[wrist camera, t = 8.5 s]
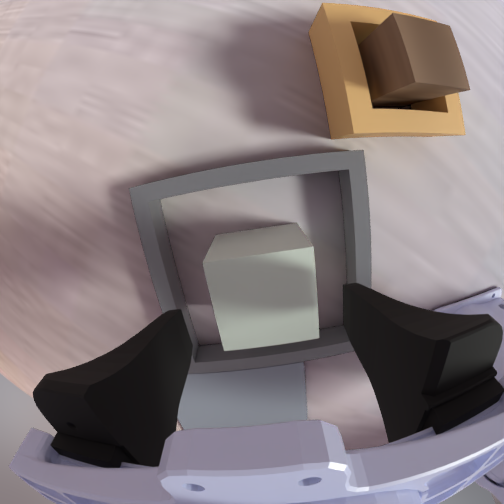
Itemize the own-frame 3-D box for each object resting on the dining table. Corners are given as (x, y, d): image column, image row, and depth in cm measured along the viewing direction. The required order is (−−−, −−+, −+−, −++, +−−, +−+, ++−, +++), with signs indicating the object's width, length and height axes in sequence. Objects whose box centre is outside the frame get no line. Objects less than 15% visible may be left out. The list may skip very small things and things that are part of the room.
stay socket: (407, 39, 13) (436, 21, 9) (429, 136, 15) (465, 135, 11) (308, 32, 13) (322, 3, 9) (331, 139, 15) (354, 133, 11)
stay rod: (390, 60, 13) (449, 26, 7) (401, 106, 14) (470, 89, 8) (345, 59, 14) (392, 12, 7) (356, 107, 15) (415, 82, 8)
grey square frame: (351, 150, 15) (363, 149, 14) (359, 332, 19) (368, 347, 18) (142, 184, 16) (129, 188, 14) (190, 356, 20) (185, 373, 18)
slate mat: (302, 358, 20) (303, 361, 20) (307, 438, 24) (308, 441, 23) (156, 372, 21) (155, 375, 20) (196, 446, 24) (196, 449, 24)
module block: (296, 222, 17) (313, 246, 12) (304, 295, 19) (319, 338, 14) (216, 234, 17) (202, 262, 12) (230, 305, 19) (224, 351, 14)
